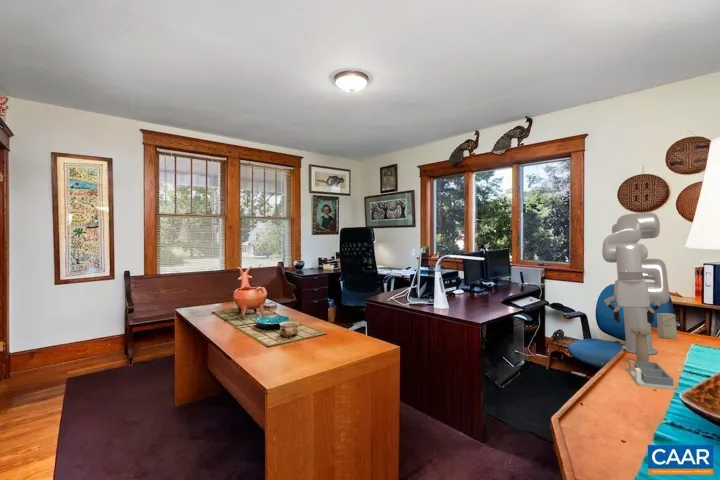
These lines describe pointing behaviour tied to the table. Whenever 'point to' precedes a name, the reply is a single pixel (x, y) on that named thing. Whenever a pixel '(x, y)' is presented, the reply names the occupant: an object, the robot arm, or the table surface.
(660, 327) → the skincare box
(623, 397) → the table surface
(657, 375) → the grey compartment tray
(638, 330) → the handle
